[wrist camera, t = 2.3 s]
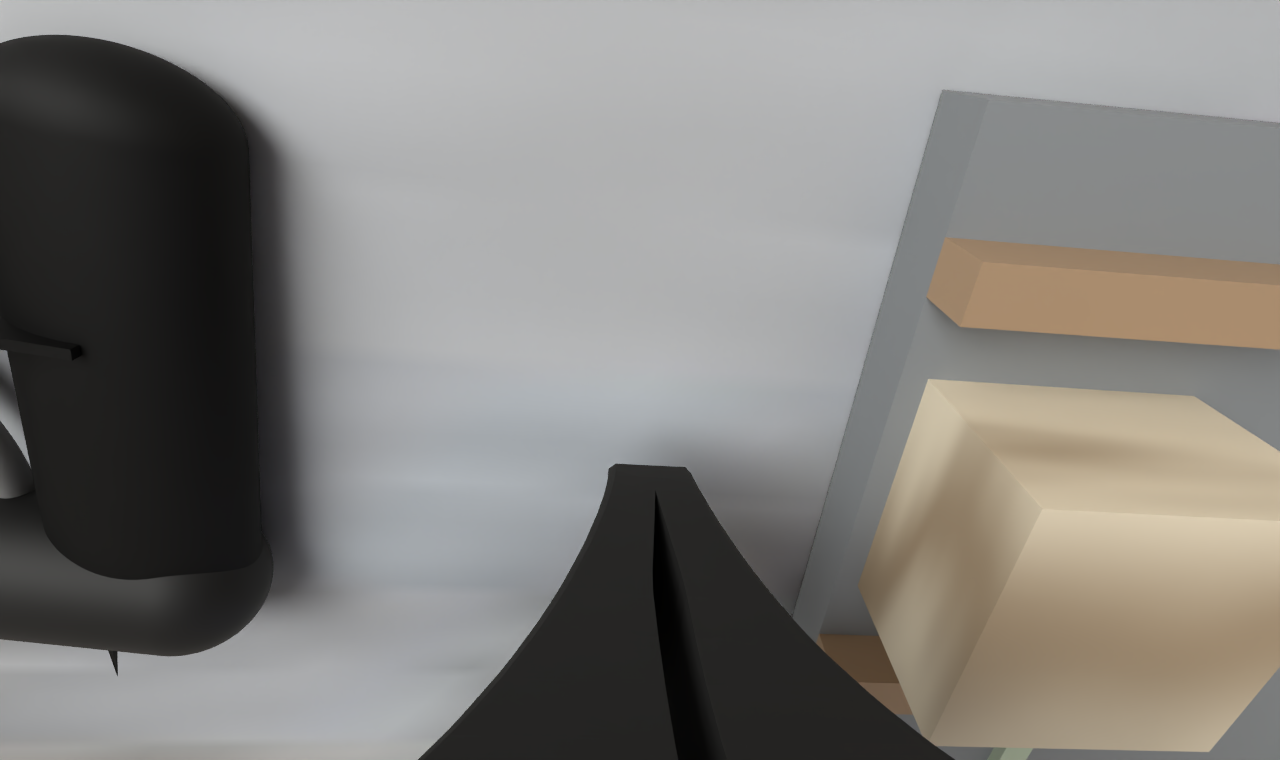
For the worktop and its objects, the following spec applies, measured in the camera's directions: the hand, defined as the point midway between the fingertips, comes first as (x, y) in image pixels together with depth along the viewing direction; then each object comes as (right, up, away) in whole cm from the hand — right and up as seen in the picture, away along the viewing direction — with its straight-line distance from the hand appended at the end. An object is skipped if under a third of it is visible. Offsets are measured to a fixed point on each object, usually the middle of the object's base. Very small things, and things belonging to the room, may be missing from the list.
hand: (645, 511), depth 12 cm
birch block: (+7, 0, +1) cm, 7 cm away
